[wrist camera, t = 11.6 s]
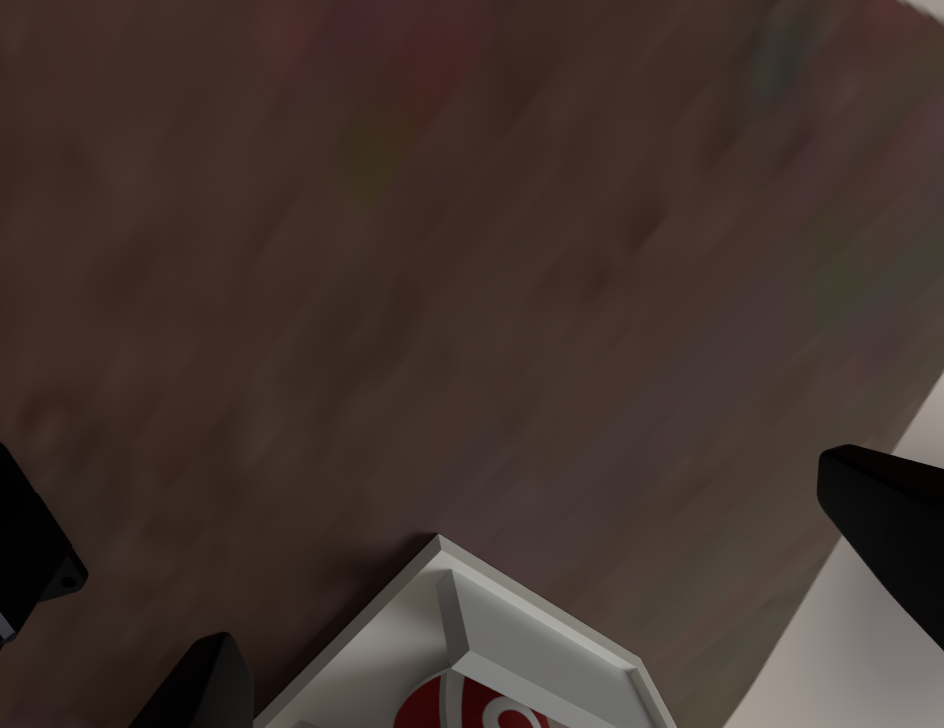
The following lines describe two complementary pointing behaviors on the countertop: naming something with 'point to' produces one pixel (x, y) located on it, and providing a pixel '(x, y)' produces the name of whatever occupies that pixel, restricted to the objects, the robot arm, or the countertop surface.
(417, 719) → the soda can
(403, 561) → the countertop surface
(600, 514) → the countertop surface
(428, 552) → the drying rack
